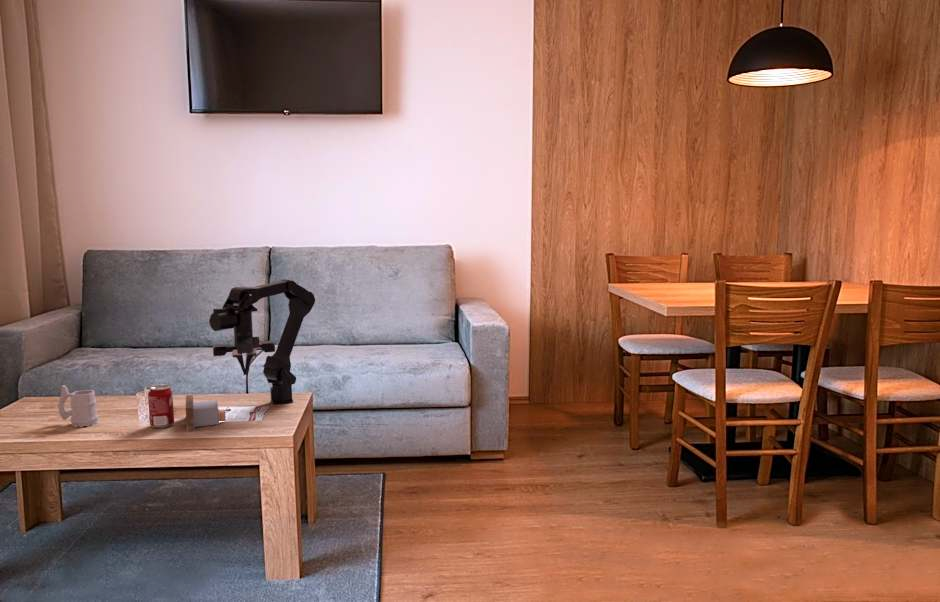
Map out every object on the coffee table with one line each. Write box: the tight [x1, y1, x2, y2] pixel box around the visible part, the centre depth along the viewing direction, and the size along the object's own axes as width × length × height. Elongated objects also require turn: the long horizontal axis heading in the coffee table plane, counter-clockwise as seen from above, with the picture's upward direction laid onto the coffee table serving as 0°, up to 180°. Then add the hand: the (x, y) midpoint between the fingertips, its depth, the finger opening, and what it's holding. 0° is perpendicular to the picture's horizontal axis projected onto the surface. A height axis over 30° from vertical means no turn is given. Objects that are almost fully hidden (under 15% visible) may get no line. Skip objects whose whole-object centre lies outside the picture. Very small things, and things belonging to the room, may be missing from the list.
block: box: [193, 399, 220, 428], centre depth 221 cm, size 7×9×5 cm
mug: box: [57, 384, 100, 428], centre depth 220 cm, size 8×12×12 cm, turn 87°
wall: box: [185, 394, 195, 432], centre depth 219 cm, size 2×16×7 cm, turn 21°
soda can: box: [147, 384, 175, 429], centre depth 217 cm, size 7×7×12 cm
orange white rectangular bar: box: [218, 409, 226, 421], centre depth 221 cm, size 8×3×3 cm, turn 110°
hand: (245, 374), depth 232 cm, fingers closed
